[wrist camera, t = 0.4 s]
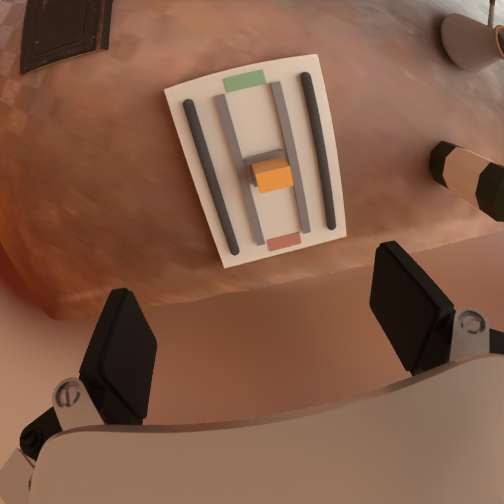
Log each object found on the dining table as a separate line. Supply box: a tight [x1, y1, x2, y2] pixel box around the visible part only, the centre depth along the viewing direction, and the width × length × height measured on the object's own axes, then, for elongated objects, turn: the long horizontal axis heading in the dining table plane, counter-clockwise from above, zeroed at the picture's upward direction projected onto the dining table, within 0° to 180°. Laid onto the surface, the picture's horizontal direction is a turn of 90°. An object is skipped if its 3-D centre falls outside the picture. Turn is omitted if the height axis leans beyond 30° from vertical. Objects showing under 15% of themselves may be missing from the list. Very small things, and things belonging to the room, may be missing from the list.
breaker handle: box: [246, 149, 294, 194], centre depth 34 cm, size 4×5×6 cm
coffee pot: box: [441, 0, 504, 73], centre depth 20 cm, size 21×12×15 cm, turn 10°
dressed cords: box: [183, 72, 336, 256], centre depth 36 cm, size 23×16×1 cm
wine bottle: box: [429, 141, 504, 222], centre depth 28 cm, size 8×8×30 cm
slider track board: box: [164, 54, 346, 268], centre depth 38 cm, size 28×20×4 cm
